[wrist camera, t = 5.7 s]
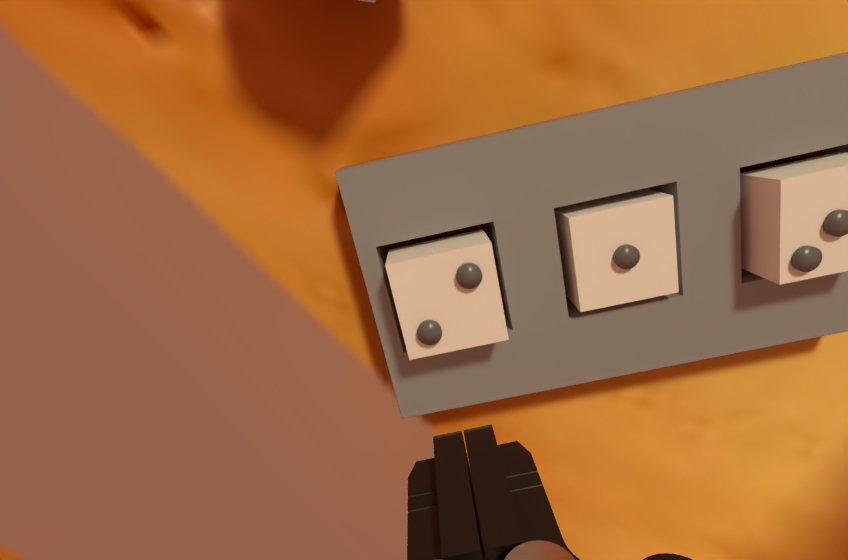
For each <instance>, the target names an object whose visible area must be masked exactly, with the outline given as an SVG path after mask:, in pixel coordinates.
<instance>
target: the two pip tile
mask: <svg viewBox="0 0 848 560" xmlns="http://www.w3.org/2000/svg"><path fill="white" fill-rule="evenodd" d="M385 267H386V271H387V275H388V278H389V282H390V286H391V290H392V294H393V298H394V302H395V306H396V310H397V314H398V318H399V322H400V325H401V329H402V333H403V337H404V341H405V345H406V349H407V353H408V357H409V360H412V359H417V358H422V357H427V356H432V355H437V354H442V353H447V352H451V351H456V350H461V349H466V348H471V347H476V346H481V345H486V344H491V343H496V342H501V341H506V340H509V337H508V332H507V326H506V321H505V315H504V310H503V304H502V299H501V293H500V288H499V282H498V276H497V271H496V265H495V260H494V254H493V249H492V243H491V241H490V240H489V238H488V236H487V235H486V233H485V232H484V230H483V229H481V230H477V231H472V232H468V233H463V234H458V235H454V236H449V237H445V238H440V239H435V240H431V241H426V242H422V243H417V244H412V245H408V246H403V247H399V248H394V249H389V252H388V256H387V260H386V264H385Z"/></svg>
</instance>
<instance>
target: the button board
mask: <svg viewBox="0 0 848 560" xmlns="http://www.w3.org/2000/svg"><path fill="white" fill-rule="evenodd" d="M823 149H825V155H826V154H831V153H836V152H848V52H847V53H843V54H838V55H834V56H829V57H825V58H821V59H816V60H812V61H808V62H803V63H799V64H794V65H790V66H786V67H781V68H777V69H773V70H768V71H764V72H759V73H755V74H751V75H746V76H742V77H738V78H733V79H729V80H725V81H720V82H716V83H711V84H707V85H703V86H698V87H694V88H690V89H685V90H681V91H676V92H672V93H668V94H663V95H659V96H655V97H650V98H646V99H641V100H637V101H633V102H628V103H624V104H620V105H615V106H611V107H606V108H602V109H598V110H593V111H589V112H585V113H580V114H576V115H571V116H567V117H563V118H558V119H554V120H550V121H545V122H541V123H536V124H532V125H528V126H523V127H519V128H515V129H510V130H506V131H502V132H497V133H493V134H488V135H484V136H480V137H475V138H471V139H467V140H462V141H458V142H453V143H449V144H445V145H440V146H436V147H432V148H427V149H423V150H418V151H414V152H410V153H405V154H401V155H397V156H392V157H388V158H383V159H379V160H375V161H370V162H366V163H362V164H357V165H353V166H348V167H344V168H341V169H339V170H337V171H335V174H336V178H337V181H338V185H339V189H340V193H341V196H342V200H343V204H344V207H345V211H346V215H347V218H348V222H349V226H350V229H351V233H352V237H353V240H354V244H355V248H356V251H357V255H358V259H359V262H360V266H361V270H362V273H363V277H364V281H365V284H366V288H367V292H368V295H369V299H370V303H371V306H372V310H373V314H374V317H375V321H376V325H377V329H378V332H379V336H380V340H381V343H382V347H383V351H384V354H385V358H386V362H387V365H388V369H389V373H390V376H391V380H392V384H393V387H394V391H395V395H396V398H397V402H398V406H399V409H400V413H401V417H402V419H403V418H408V417H413V416H418V415H423V414H429V413H434V412H439V411H444V410H449V409H454V408H459V407H464V406H469V405H474V404H479V403H485V402H490V401H495V400H500V399H505V398H510V397H515V396H520V395H525V394H530V393H536V392H541V391H546V390H551V389H556V388H561V387H566V386H571V385H576V384H581V383H586V382H592V381H597V380H602V379H607V378H612V377H617V376H622V375H627V374H632V373H637V372H642V371H648V370H653V369H658V368H663V367H668V366H673V365H678V364H683V363H688V362H693V361H699V360H704V359H709V358H714V357H719V356H724V355H729V354H734V353H739V352H744V351H749V350H755V349H760V348H765V347H770V346H775V345H780V344H785V343H790V342H795V341H800V340H806V339H811V338H816V337H821V336H826V335H831V334H836V333H841V332H846V331H848V271H845V272H840V273H835V274H830V275H825V276H820V277H815V278H811V279H806V280H801V281H796V282H791V283H786V284H781V285H779V284H777V283H774V282H772V281H770V280H767V279H765V278H763V277H760V276H758V275H756V274H753V273H751V272H749V271H746V270H744V269H742V268H741V210H740V168H741V167H745V166H750V165H754V164H759V163H764V162H768V161H773V160H777V159H782V158H787V157H791V156H796V155H800V154H805V153H809V152H814V151H819V150H823ZM649 187H653V190H654V191H658V192H662V193H666V194H670V195H673V201H674V219H675V236H676V253H677V271H678V288H679V292H677V293H673V294H668V295H663V296H658V297H653V298H648V299H643V300H638V301H634V302H629V303H624V304H619V305H614V306H609V307H604V308H599V309H594V310H590V311H585V312H580V311H579V310H578V309H577V308H576V306H575V305H574V304H573V303H572V302H571V301H570V300H566V294H565V287H564V279H563V272H562V264H561V257H560V250H559V242H558V235H557V228H556V220H555V213H554V208H557V207H562V206H566V205H571V204H576V203H580V202H585V201H589V200H594V199H598V198H603V197H608V196H612V195H617V194H621V193H626V192H631V191H635V190H640V189H644V188H649ZM484 223H489V228H490V234H491V239H492V245H493V250H494V256H495V262H496V267H497V273H498V278H499V284H500V289H501V295H502V300H503V306H504V312H505V313H504V315H505V321H506V326H507V332H508V337H509V340H506V341H501V342H496V343H491V344H486V345H481V346H476V347H471V348H466V349H461V350H456V351H451V352H447V353H442V354H437V355H432V356H427V357H422V358H417V359H412V360H409V357H408V353H407V349H406V345H405V341H404V337H403V333H402V329H401V325H400V322H399V318H398V314H397V310H396V306H395V302H394V298H393V294H392V290H391V286H390V282H389V278H388V275H387V271H386V267H385V264H386V259H385V255H384V251H383V247H382V246H383V245H388V244H392V243H397V242H401V241H406V240H410V239H415V238H420V237H424V236H429V235H433V234H438V233H443V232H447V231H452V230H456V229H461V228H465V227H470V226H475V225H479V224H484Z"/></svg>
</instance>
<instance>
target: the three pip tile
mask: <svg viewBox="0 0 848 560" xmlns="http://www.w3.org/2000/svg"><path fill="white" fill-rule="evenodd" d="M740 210H741V268H742V269H744V270H746V271H749V272H751V273H753V274H756V275H758V276H760V277H763V278H765V279H767V280H770V281H772V282H774V283H777V284H779V285H781V284H786V283H791V282H796V281H801V280H806V279H811V278H815V277H820V276H825V275H830V274H835V273H840V272H845V271H848V152H836V153H831V154H826V155H822V156H817V157H813V158H808V159H803V160H799V161H794V162H790V163H785V164H780V165H776V166H771V167H767V168H762V169H757V170H753V171H748V172H744V173H740Z"/></svg>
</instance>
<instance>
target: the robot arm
mask: <svg viewBox="0 0 848 560" xmlns="http://www.w3.org/2000/svg"><path fill="white" fill-rule="evenodd" d="M464 435H465V441H466V447H467V452H468V457H467V453H466V448H465V444H464V440H463V435H462V431H458V432H453V433H448V434H443V435H438V436H434V437H433V442H434V456H435V458H432V459H427V460H422V461H417V462H416V463H415V465H414V467H413V470H412V471H411V473H410V475H409V477H408V546H407V549H408V550H407V552H408V553H407V556H408V557H407V560H580V559H579V558H577V557H576V556H575V555H574V554H573V553H572V552H571V551H570V550H569V549H568V547H567V546H566V544H565V542H564V540H563V538H562V535H561V533H560V530H559V527H558V525H557V522H556V519H555V517H554V514H553V511H552V509H551V506H550V503H549V501H548V498H547V495H546V493H545V490H544V487H543V485H542V482H541V479H540V476H539V474H538V472H537V468H536V466H535V463H534V460H533V458H532V455H531V453H530V452H529V451H528V450H527V449H526V448H524V447H523V446H522V445H521V444H520V443H519V442H518V441H515V442H510V443H505V444H500V445H497V442H496V439H495V435H494V431H493V428H492V425H487V426H482V427H477V428H472V429H467V430H464ZM468 458H469V461H468ZM469 464H470V466H469ZM643 560H692V559H690V558H687V557H684V556H681V555H676V554H667V553H664V554H656V555H652V556H649V557H647V558H645V559H643Z"/></svg>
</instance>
